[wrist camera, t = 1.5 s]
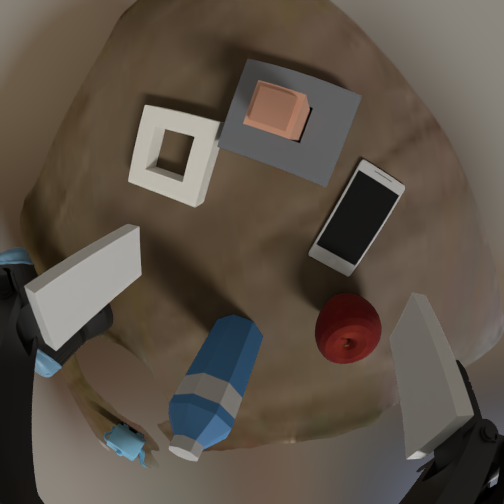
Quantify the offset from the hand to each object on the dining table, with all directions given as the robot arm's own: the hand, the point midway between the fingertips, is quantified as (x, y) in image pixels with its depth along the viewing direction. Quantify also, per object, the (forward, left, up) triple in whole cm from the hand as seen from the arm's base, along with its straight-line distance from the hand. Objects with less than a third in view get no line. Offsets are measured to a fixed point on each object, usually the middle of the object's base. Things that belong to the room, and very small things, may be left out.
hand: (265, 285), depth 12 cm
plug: (-4, +8, -26) cm, 27 cm away
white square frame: (-18, -1, -26) cm, 32 cm away
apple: (+14, -14, -26) cm, 33 cm away
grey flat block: (-4, +8, -26) cm, 27 cm away
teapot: (-22, -112, -26) cm, 117 cm away
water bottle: (0, -28, -26) cm, 38 cm away
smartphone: (+9, -1, -26) cm, 28 cm away
